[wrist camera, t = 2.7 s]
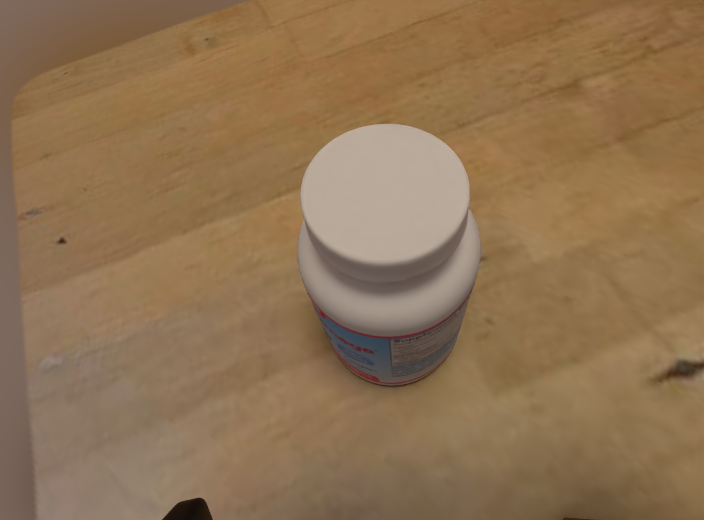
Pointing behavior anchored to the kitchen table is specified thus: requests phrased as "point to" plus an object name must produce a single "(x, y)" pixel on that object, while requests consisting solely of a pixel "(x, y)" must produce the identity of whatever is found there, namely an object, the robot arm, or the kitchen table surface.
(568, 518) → the chest
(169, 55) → the kitchen table surface
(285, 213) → the kitchen table surface
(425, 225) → the pill bottle
